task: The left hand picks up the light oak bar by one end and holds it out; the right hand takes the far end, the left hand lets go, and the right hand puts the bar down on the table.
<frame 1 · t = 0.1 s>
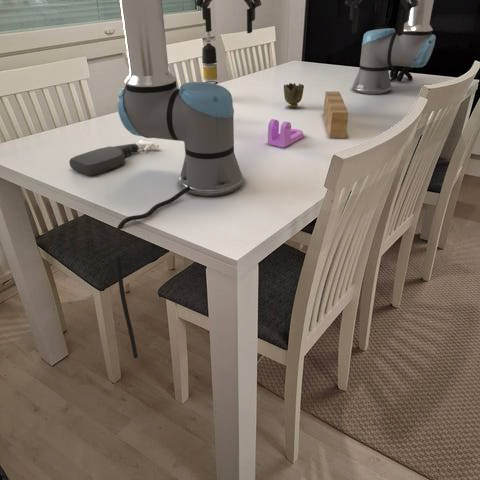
left hand: (228, 32, 139), 28 cm above the table, tool pointing down, fingers open, 13 cm apart
right hand: (376, 33, 130), 28 cm above the table, tool pointing down, fingers open, 13 cm apart
bracket: (287, 140, 136), on the table
bar: (333, 125, 148), on the table
cup: (292, 107, 166), on the table
squiggle: (399, 80, 200), on the table
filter: (211, 98, 179), on the table
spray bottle: (117, 159, 125), on the table
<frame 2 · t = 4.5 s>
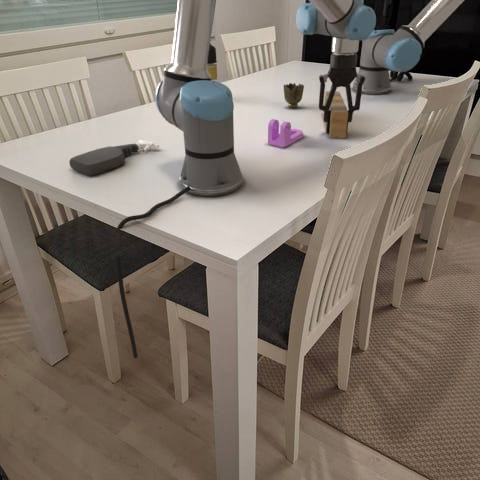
left hand: (336, 132, 140), 1 cm above the table, tool pointing down, fingers closed on bar, 5 cm apart
right hand: (364, 15, 156), 30 cm above the table, tool pointing down, fingers open, 13 cm apart
bar: (333, 125, 148), on the table, touching left hand
everything else where it was.
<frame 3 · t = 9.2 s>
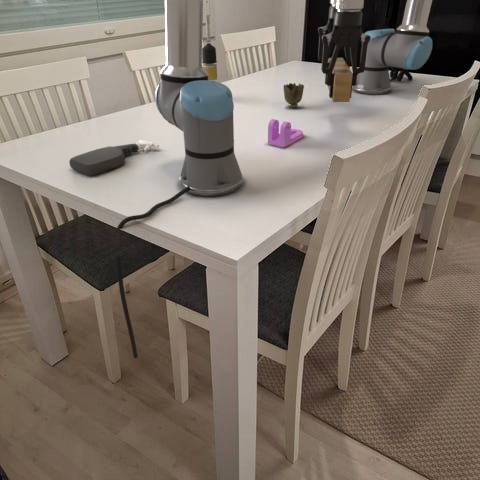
left hand: (339, 96, 134), 11 cm above the table, tool pointing down, fingers closed on bar, 5 cm apart
right hand: (334, 83, 149), 12 cm above the table, tool pointing down, fingers closed on bar, 5 cm apart
bar: (337, 91, 142), point 11 cm above the table, touching left hand, right hand
everything else where it was.
when the left hand's fingers open (11 cm above the table, at t = 9.7 s): bar stays where it is, held by the right hand.
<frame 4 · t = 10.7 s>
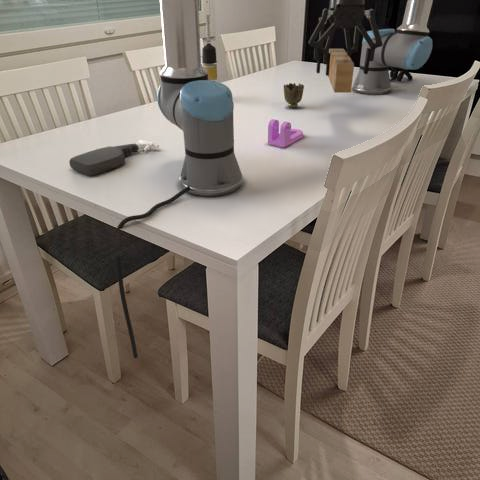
left hand: (341, 72, 129), 19 cm above the table, tool pointing down, fingers open, 13 cm apart
right hand: (335, 74, 147), 14 cm above the table, tool pointing down, fingers closed on bar, 5 cm apart
bar: (338, 82, 140), point 14 cm above the table, touching right hand
everything else where it was.
when the right hand's fingers open (2 cm above the table, at t = 15.1 s): bar drops 1 cm, on the table.
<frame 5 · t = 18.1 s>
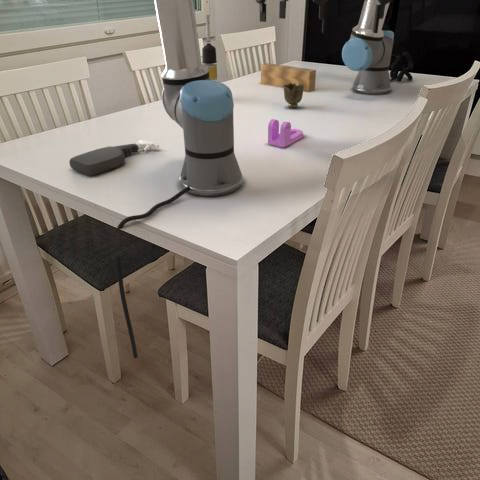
left hand: (349, 32, 120), 30 cm above the table, tool pointing down, fingers open, 13 cm apart
right hand: (272, 20, 185), 26 cm above the table, tool pointing down, fingers open, 13 cm apart
bar: (286, 86, 194), on the table
everything else where it was.
at the end: bar inside the target area (8.3 cm from its centre), on the table; the left hand is holding nothing; the right hand is holding nothing; bar at rest at the end (0.0 cm/s) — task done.
